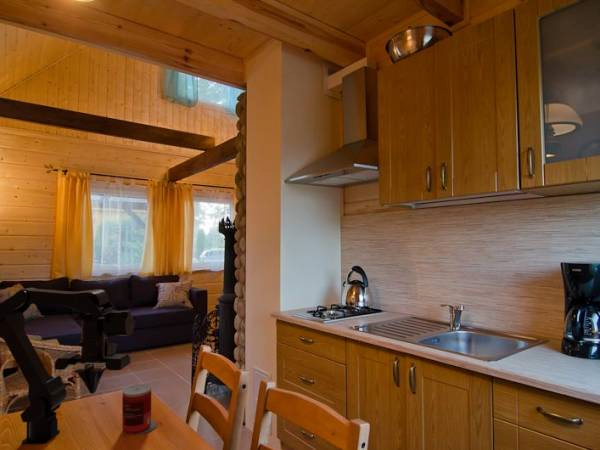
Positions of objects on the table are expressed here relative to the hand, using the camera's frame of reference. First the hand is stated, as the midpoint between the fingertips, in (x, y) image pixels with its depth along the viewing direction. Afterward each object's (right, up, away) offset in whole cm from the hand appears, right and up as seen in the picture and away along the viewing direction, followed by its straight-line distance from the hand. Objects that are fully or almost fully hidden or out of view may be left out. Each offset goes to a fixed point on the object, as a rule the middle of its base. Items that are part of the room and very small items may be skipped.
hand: (92, 393), depth 105 cm
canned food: (+10, -12, +4) cm, 16 cm away
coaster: (+12, -12, +5) cm, 18 cm away
